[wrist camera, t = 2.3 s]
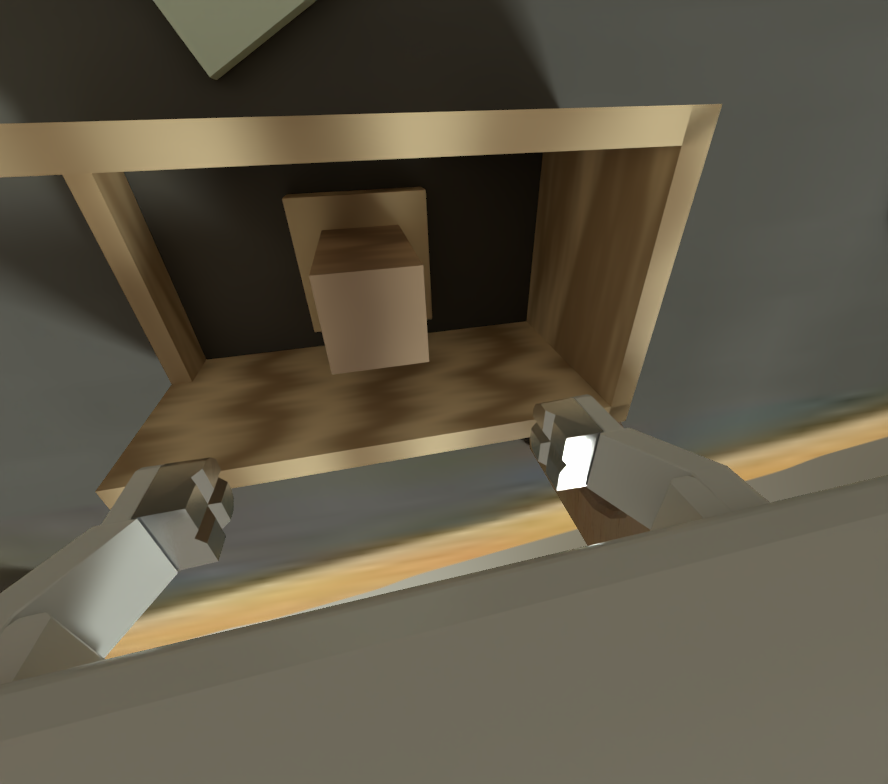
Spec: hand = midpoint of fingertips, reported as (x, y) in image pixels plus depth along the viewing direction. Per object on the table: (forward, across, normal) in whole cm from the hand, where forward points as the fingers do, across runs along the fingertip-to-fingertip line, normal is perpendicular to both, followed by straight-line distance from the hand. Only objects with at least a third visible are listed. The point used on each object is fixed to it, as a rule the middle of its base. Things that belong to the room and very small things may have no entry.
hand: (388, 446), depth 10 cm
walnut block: (+17, 0, 0) cm, 17 cm away
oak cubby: (+19, 0, 0) cm, 19 cm away
